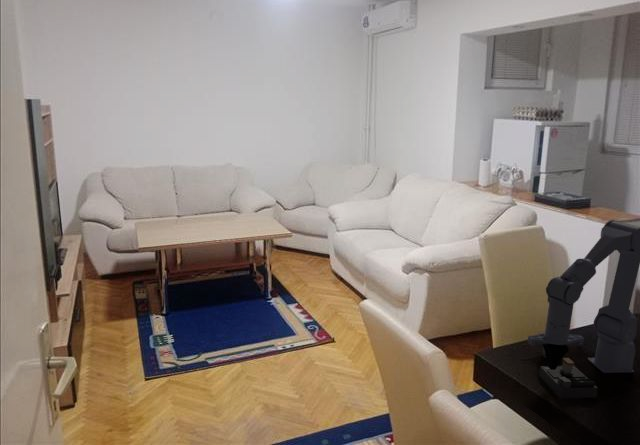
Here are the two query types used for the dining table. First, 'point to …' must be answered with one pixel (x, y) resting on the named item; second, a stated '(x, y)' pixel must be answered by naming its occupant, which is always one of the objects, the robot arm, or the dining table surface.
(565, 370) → the breaker toggle
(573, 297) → the robot arm
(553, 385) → the breaker box
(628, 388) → the dining table surface
